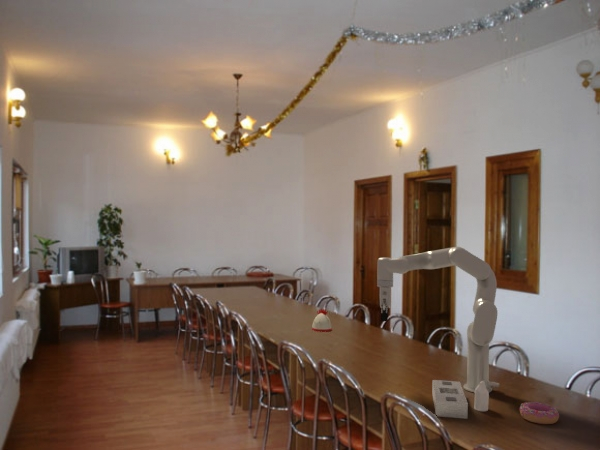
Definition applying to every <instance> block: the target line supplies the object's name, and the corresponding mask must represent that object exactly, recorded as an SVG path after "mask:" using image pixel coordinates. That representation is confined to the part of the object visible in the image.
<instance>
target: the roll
mask: <svg viewBox="0 0 600 450" xmlns="http://www.w3.org/2000/svg"><path fill="white" fill-rule="evenodd" d="M489 394H490V392H488V390H487V389H486V385H485V382H484V381H482V382H480V384H479V385H478V386H477V388H476V389H475V392H474V399H473V401H474V403H473V404H474V407H473V408H474V410H475V411H477V412H487V411H488V410H489V398H490V395H489Z"/></svg>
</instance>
